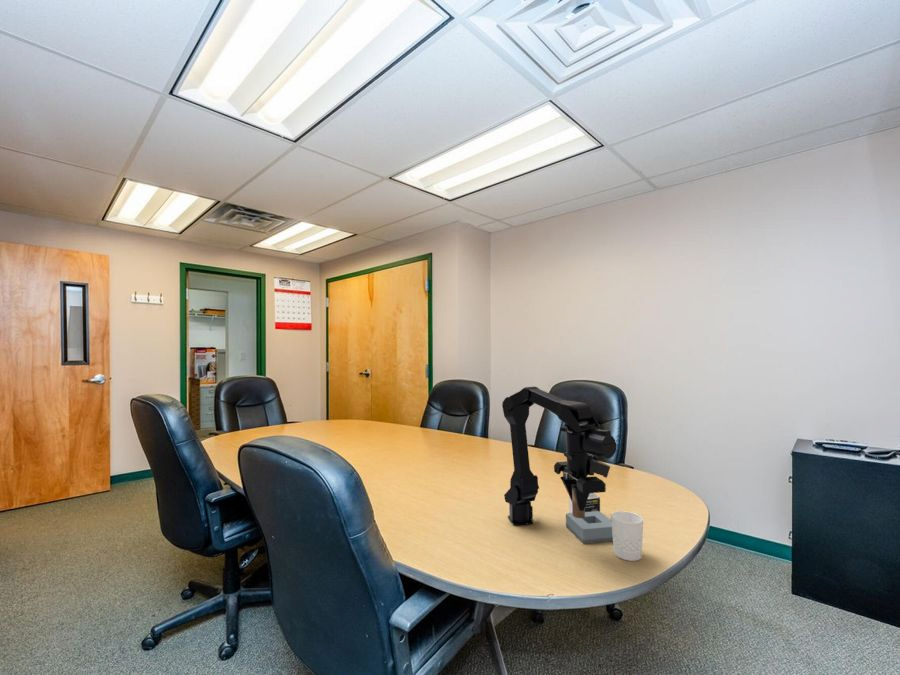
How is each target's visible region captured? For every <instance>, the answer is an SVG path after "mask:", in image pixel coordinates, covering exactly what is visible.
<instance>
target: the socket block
mask: <svg viewBox="0 0 900 675" xmlns="http://www.w3.org/2000/svg"><path fill="white" fill-rule="evenodd" d="M565 527H566V528H567V529H568V531H570V532H571V534H573V535H574V537H576V538H577V539H578V540H579V541H580V542H581V543H582V544H591V543H592V544H593V543H602V542H603V543H604V542H605V543H606V542H613V537H612V524H611V518H609V517H608V516H606V515H605V514H604V513H603V512H601V510H600V511H593V512H585V517H584V518H576V517H574V516H573V513H570V512H569V513H568V512H567V513H565Z"/></svg>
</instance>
